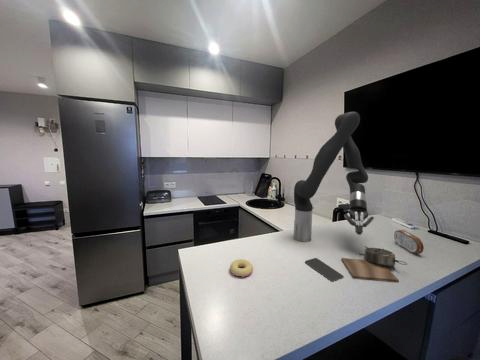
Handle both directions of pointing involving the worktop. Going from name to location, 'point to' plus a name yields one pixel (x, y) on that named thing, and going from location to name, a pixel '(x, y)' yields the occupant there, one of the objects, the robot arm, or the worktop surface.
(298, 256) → the worktop surface
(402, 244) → the tin
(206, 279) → the worktop surface
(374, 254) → the alarm clock
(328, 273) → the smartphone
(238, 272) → the donut
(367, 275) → the walnut board
